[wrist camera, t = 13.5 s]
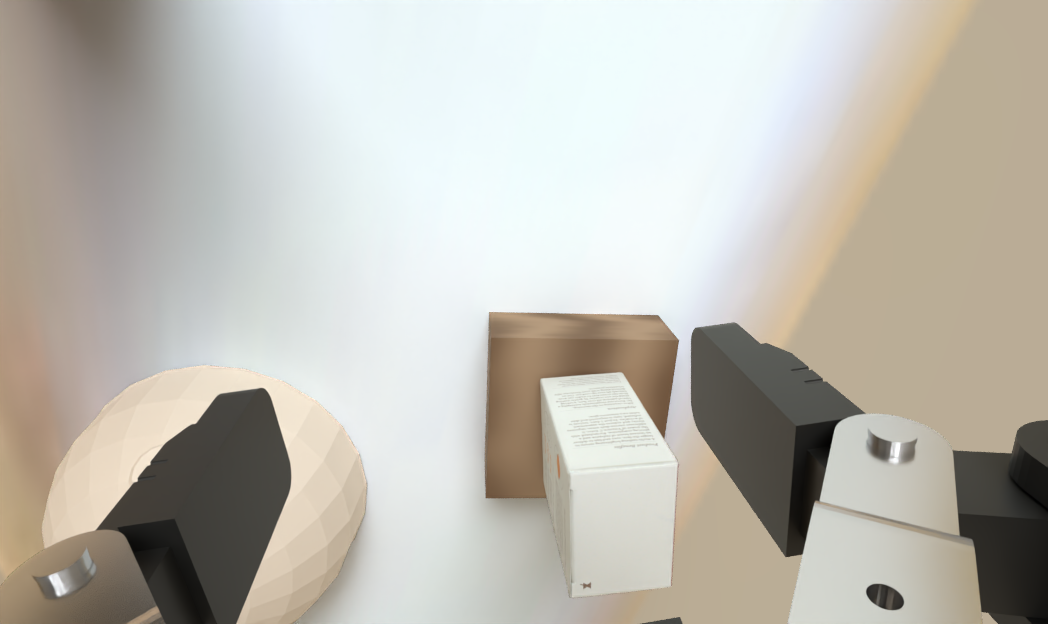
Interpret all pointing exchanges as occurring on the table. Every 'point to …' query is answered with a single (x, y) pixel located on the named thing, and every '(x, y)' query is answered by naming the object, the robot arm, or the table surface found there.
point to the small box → (607, 485)
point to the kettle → (180, 400)
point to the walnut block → (558, 351)
